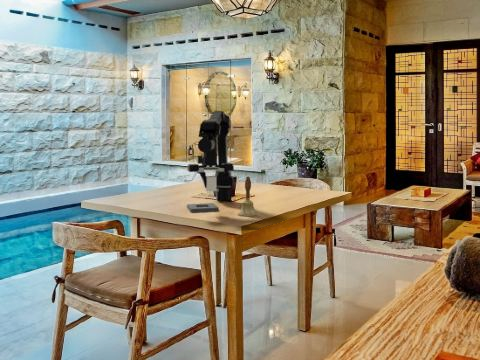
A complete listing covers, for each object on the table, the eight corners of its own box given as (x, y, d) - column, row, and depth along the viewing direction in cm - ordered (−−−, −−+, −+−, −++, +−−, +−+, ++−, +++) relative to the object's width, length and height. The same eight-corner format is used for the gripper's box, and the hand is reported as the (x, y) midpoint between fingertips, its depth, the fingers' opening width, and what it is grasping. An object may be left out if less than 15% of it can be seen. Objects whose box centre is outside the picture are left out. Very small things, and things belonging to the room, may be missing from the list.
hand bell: (256, 212, 221) (256, 175, 219) (258, 216, 212) (258, 177, 210) (237, 212, 220) (237, 175, 218) (237, 216, 212) (237, 178, 210)
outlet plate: (213, 206, 236) (213, 202, 236) (218, 211, 225) (218, 207, 224) (186, 207, 233) (186, 203, 233) (191, 212, 222) (191, 208, 221)
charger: (214, 189, 221) (214, 175, 220) (216, 191, 217) (216, 176, 217) (205, 190, 220) (205, 175, 219) (207, 191, 216) (206, 177, 216)
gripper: (227, 148, 227) (228, 184, 229) (185, 149, 222) (185, 186, 224) (233, 150, 216) (234, 187, 218) (189, 151, 211) (189, 189, 213)
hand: (210, 187), depth 219 cm, fingers closed on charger, 4 cm apart
